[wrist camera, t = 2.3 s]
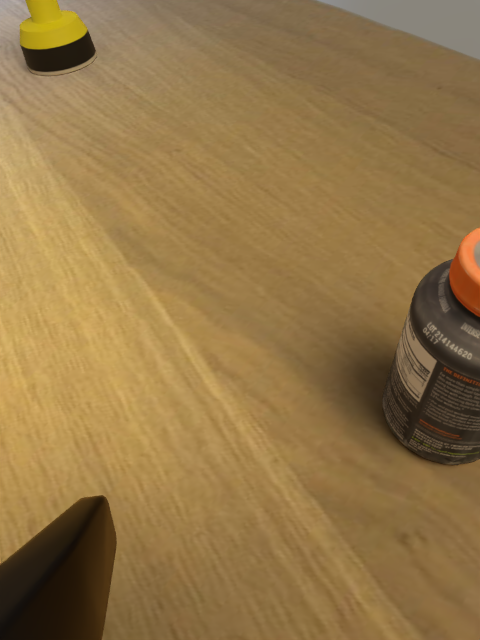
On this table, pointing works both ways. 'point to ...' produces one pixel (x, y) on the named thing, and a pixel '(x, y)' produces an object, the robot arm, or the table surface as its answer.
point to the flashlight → (54, 39)
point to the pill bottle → (440, 363)
